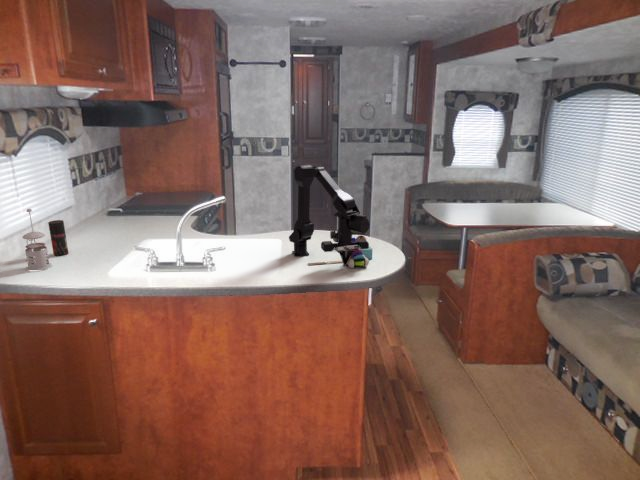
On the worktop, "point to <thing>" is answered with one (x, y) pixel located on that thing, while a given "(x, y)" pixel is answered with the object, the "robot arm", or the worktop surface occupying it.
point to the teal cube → (367, 252)
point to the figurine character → (357, 237)
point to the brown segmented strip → (325, 263)
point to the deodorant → (58, 238)
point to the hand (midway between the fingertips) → (344, 265)
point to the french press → (36, 251)
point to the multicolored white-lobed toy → (357, 259)
